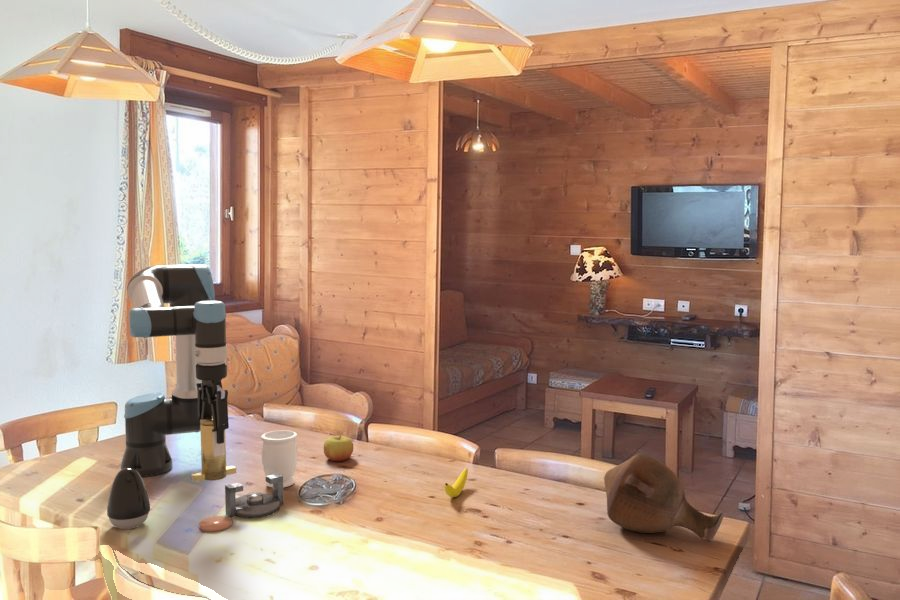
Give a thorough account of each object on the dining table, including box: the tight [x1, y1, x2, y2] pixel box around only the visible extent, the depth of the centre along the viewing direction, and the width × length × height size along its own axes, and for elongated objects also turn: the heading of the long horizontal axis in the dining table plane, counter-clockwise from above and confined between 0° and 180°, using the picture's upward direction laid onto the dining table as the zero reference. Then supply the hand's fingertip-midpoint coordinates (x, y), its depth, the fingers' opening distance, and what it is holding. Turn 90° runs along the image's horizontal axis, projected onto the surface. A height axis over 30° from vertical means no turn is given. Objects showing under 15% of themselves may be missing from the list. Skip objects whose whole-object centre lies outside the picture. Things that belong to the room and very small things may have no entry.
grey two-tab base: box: [224, 473, 284, 519], centre depth 212 cm, size 13×16×8 cm
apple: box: [323, 435, 354, 462], centre depth 256 cm, size 10×10×8 cm
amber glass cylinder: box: [191, 416, 237, 483], centre depth 198 cm, size 6×11×15 cm, turn 130°
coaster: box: [198, 515, 233, 533], centre depth 201 cm, size 8×8×1 cm
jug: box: [603, 452, 725, 542], centre depth 197 cm, size 20×20×30 cm
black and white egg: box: [106, 468, 151, 530], centre depth 200 cm, size 10×10×15 cm
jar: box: [261, 429, 298, 489], centre depth 232 cm, size 11×10×15 cm
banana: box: [444, 467, 469, 498], centre depth 224 cm, size 3×19×6 cm, turn 161°
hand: (213, 452), depth 199 cm, fingers closed on amber glass cylinder, 6 cm apart
